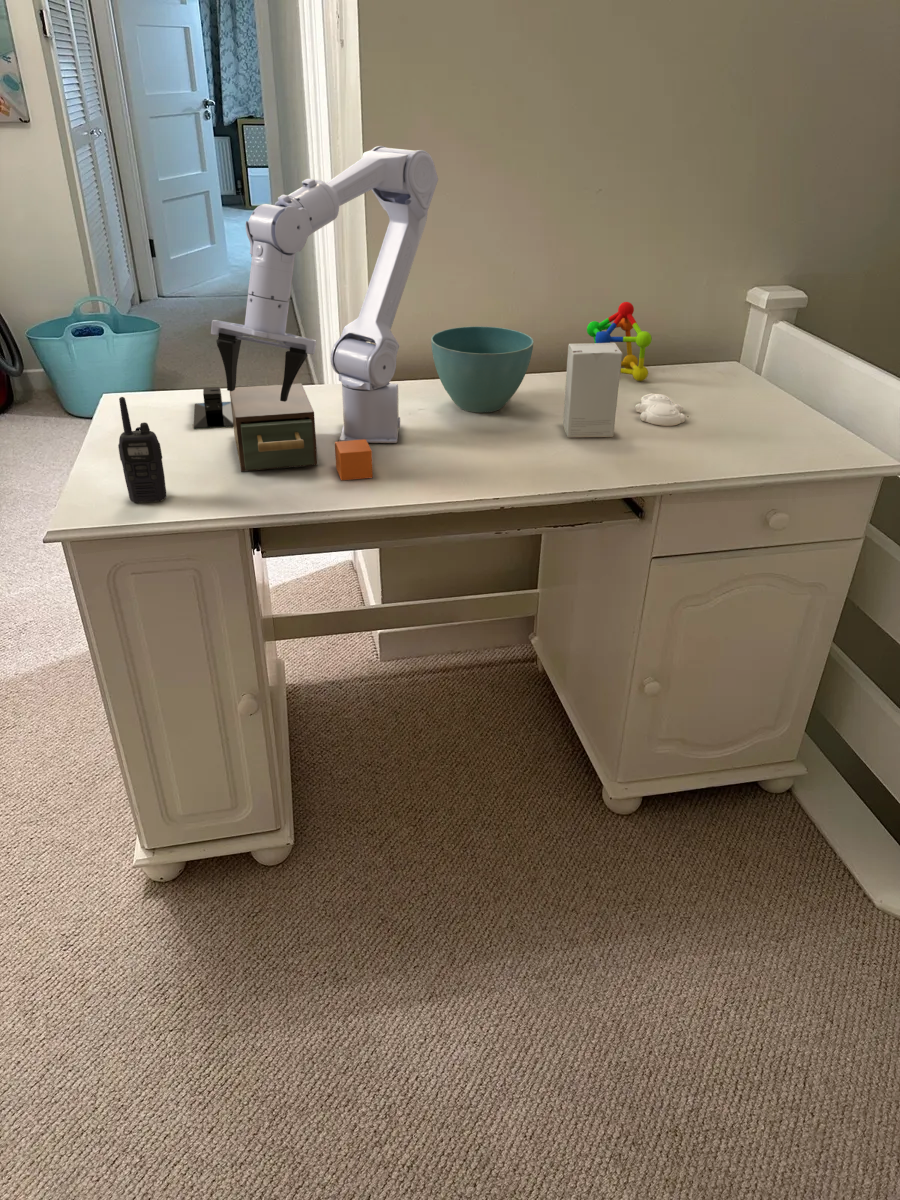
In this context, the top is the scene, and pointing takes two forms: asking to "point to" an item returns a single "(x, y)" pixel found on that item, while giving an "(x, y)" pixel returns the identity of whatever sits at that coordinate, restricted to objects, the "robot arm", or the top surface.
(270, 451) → the drawer
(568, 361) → the cosmetic box
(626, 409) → the top surface
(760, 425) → the top surface
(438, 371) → the plant pot
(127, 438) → the two-way radio
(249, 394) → the cabinet
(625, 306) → the educational toy
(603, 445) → the top surface
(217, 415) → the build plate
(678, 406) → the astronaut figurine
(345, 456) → the block
